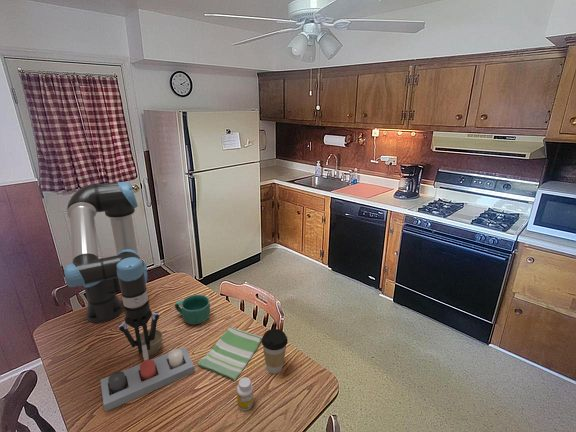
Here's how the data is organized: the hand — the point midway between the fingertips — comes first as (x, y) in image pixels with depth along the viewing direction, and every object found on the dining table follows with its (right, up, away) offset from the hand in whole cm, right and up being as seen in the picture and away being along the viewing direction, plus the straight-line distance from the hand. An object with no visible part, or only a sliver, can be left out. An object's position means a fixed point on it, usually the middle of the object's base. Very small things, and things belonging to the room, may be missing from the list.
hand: (145, 357), depth 112 cm
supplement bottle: (+37, -14, -5) cm, 40 cm away
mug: (+6, +2, +36) cm, 37 cm away
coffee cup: (+46, -8, +9) cm, 48 cm away
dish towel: (+28, -6, +16) cm, 33 cm away
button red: (0, -9, +3) cm, 9 cm away
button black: (-8, -11, -2) cm, 14 cm away
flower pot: (-5, -5, +16) cm, 18 cm away
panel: (0, -10, +3) cm, 10 cm away
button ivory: (+8, -7, +8) cm, 14 cm away
